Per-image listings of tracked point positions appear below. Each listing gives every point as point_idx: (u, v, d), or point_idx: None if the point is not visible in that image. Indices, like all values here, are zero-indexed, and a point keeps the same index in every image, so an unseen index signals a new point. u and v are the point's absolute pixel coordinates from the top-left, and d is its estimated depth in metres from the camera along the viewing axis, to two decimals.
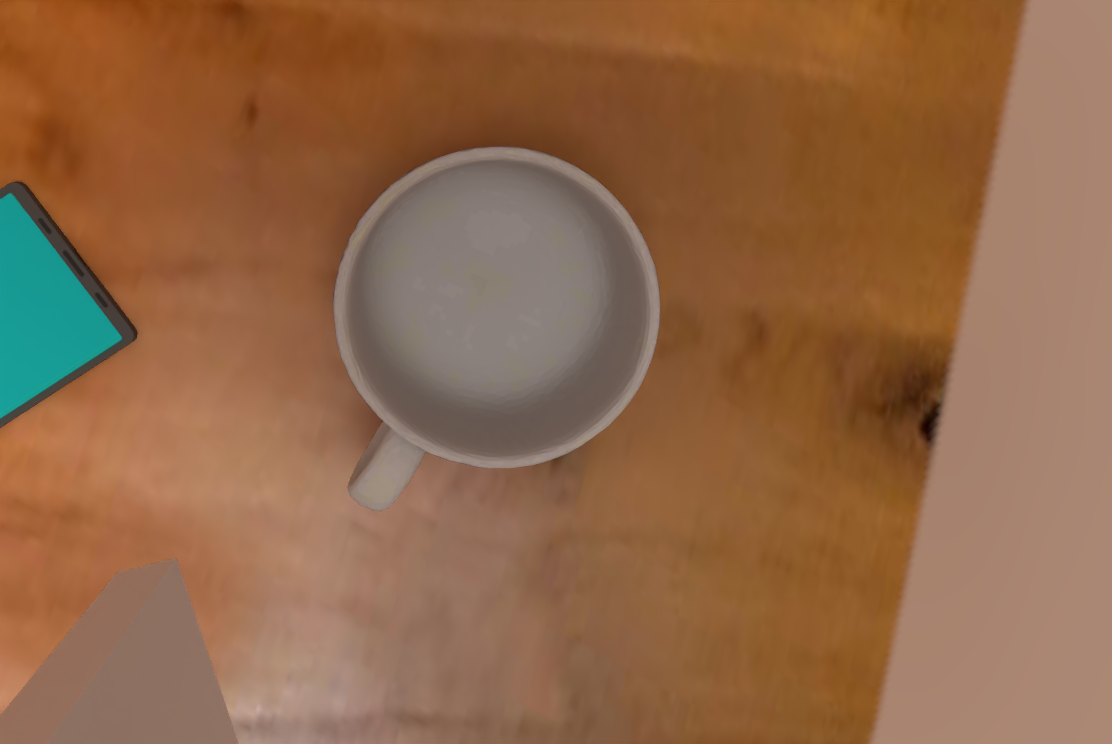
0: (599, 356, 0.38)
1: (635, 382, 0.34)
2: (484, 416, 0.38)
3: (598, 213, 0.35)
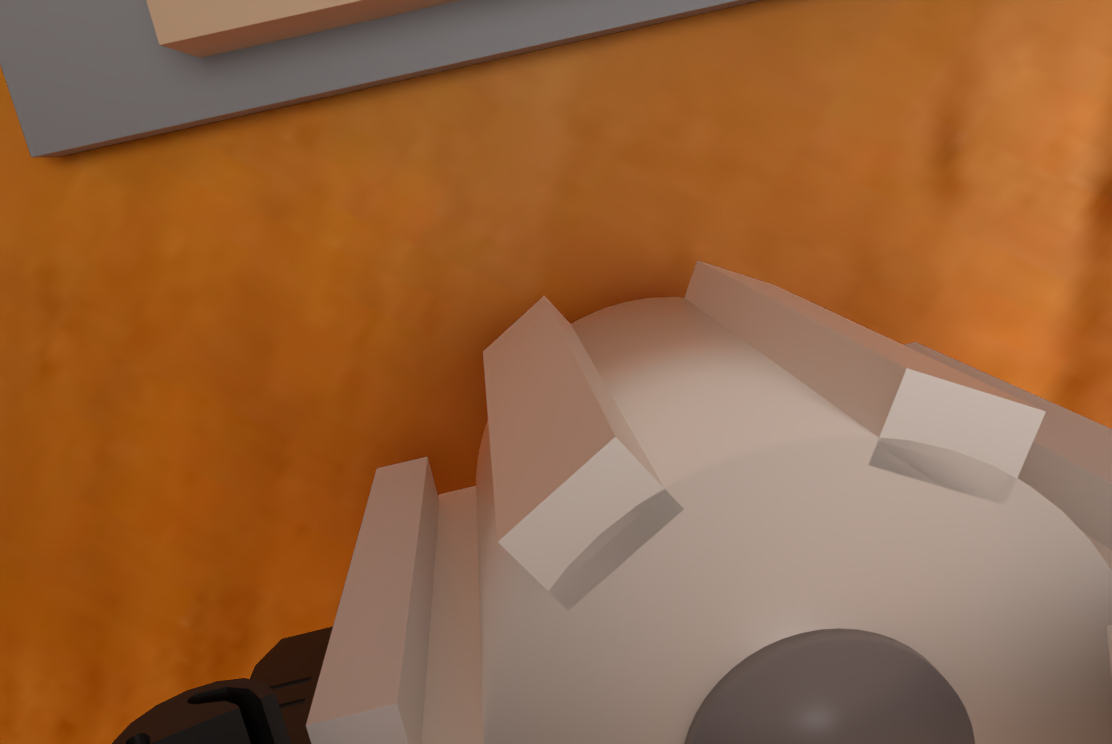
0: None
1: None
2: None
3: None
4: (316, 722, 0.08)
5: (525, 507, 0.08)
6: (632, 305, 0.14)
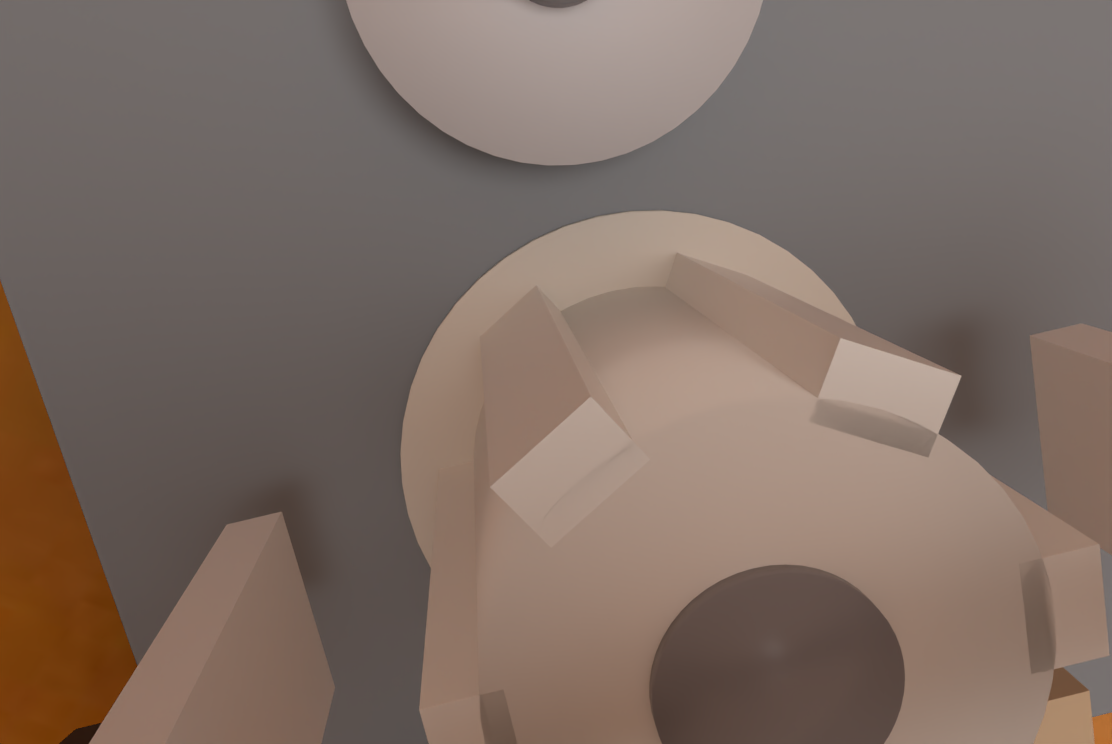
0: None
1: None
2: None
3: None
4: None
5: (514, 459, 0.09)
6: (617, 294, 0.15)
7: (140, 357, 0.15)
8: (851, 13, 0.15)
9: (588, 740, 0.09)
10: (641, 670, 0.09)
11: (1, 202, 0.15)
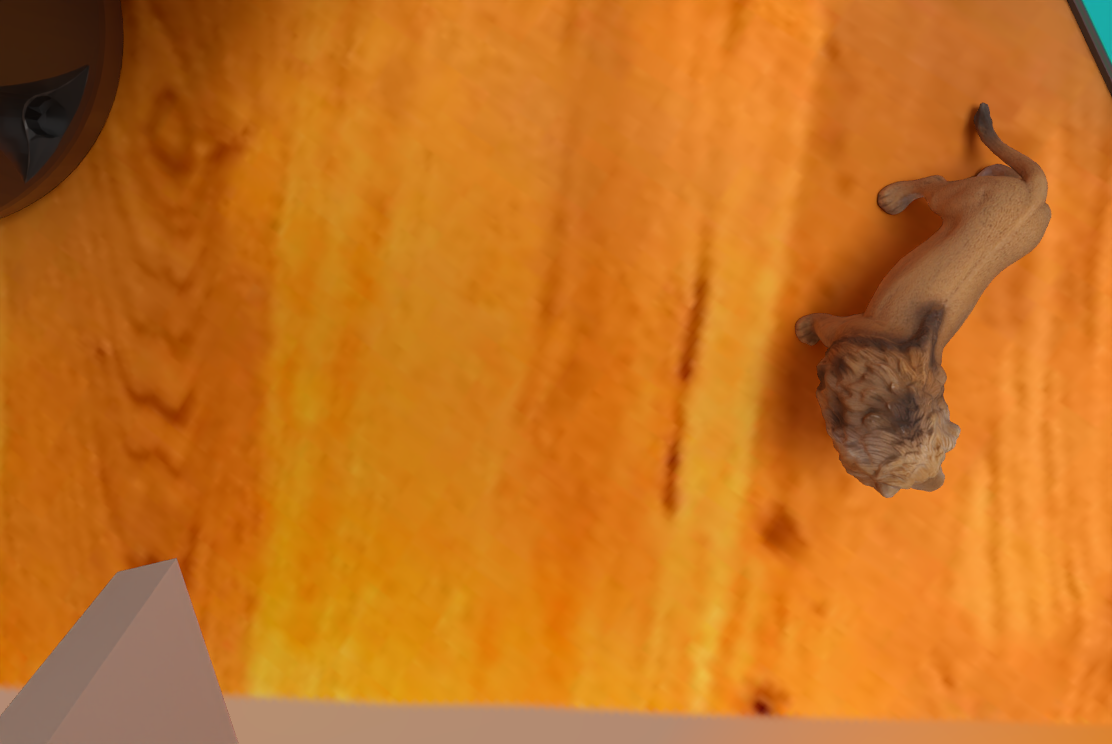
0: None
1: None
2: None
3: None
4: None
5: None
6: None
7: None
8: None
9: None
10: None
11: None
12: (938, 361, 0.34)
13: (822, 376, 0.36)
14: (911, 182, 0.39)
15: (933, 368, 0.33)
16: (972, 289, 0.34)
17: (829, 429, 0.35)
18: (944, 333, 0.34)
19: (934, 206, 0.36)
